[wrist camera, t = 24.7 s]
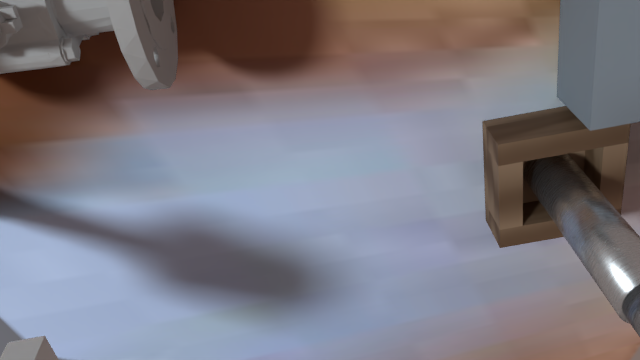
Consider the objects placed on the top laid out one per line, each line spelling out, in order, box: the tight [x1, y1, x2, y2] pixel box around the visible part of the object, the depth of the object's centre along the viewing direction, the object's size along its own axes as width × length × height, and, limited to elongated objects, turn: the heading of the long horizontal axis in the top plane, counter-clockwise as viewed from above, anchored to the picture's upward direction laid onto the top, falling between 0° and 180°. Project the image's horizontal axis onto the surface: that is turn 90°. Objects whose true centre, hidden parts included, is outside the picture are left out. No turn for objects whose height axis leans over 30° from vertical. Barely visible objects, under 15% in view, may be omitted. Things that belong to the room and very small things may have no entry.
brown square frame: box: [483, 106, 631, 248], centre depth 50 cm, size 10×10×4 cm
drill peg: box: [524, 154, 640, 337], centre depth 44 cm, size 4×4×18 cm
